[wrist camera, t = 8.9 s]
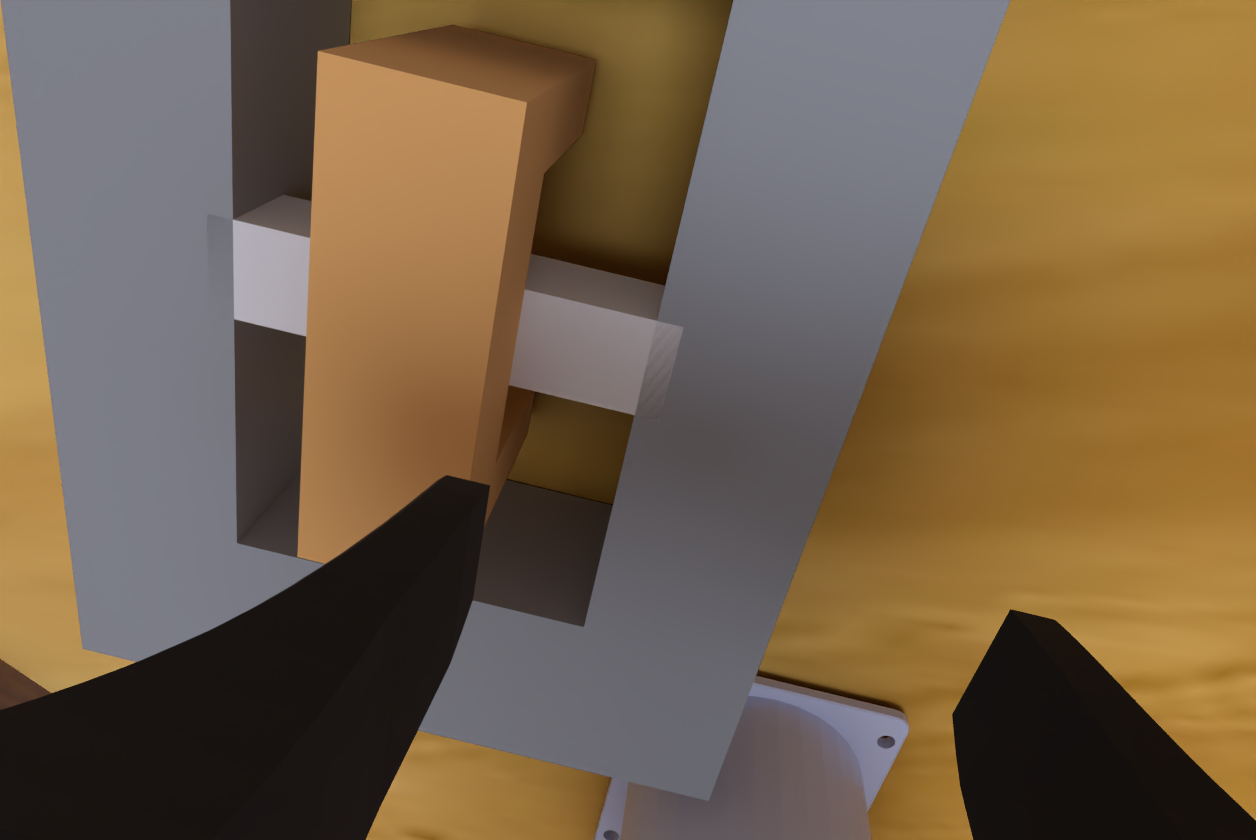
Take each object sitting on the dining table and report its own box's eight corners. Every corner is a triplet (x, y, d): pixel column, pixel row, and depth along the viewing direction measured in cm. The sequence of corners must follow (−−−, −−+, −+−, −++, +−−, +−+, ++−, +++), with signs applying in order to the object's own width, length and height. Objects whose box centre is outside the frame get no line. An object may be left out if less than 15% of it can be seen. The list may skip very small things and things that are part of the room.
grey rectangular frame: (714, 659, 26) (708, 801, 22) (194, 533, 26) (82, 648, 22) (1021, -238, 16) (1130, -318, 11) (154, -439, 16) (-75, -598, 11)
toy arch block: (527, 434, 22) (452, 595, 16) (411, 406, 22) (297, 556, 16) (595, 60, 18) (527, 102, 12) (453, 24, 18) (318, 50, 12)
